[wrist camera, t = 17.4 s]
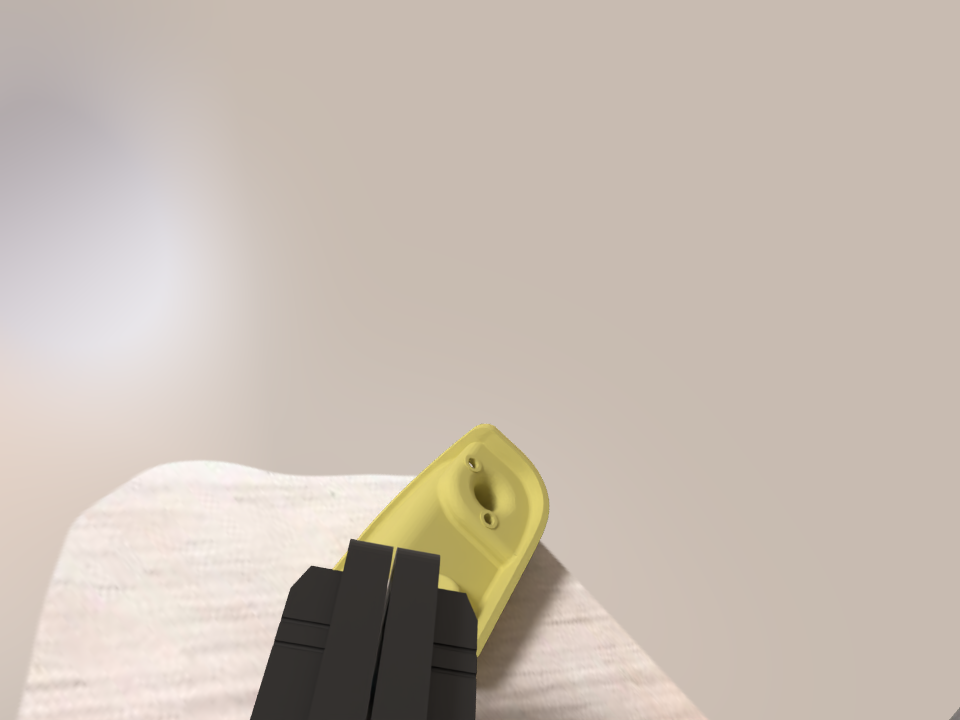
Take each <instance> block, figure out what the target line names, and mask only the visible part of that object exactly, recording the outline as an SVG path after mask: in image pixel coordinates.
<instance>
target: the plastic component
mask: <svg viewBox="0 0 960 720" xmlns="http://www.w3.org/2000/svg"><path fill="white" fill-rule="evenodd" d="M469 462H470V463H471V464H472V466H473V467H471V466H470V465H469ZM548 514H549V498H548V493H547V490H546V487H545V484H544V482H543V479H542V477H541V476H540V474H539V472H538V470H537V469H536V468H535V466H534V465H533V463H532V462H531V461H530V460H529V459H528V458H527V457H526V455H524V453H523V452H522V451H521V450H520V449H518V448H517V447H516V446H515V445H514V444H513V443H512V442H511V441H510V440H509V439H508V438H506V437H505V436H504V435H503V434H502V433H501V432H500V431H499V430H498V429H497V428H496V427H495V426H493V425H490V424H480V425H478V426H476V427H474V428H473V429H472V430H470V431H469V432H468V433H467V434H465V435H464V436H463V437H462V438H460V439H459V440H458V441H457V442H455V443H454V444H453V445H452V446H451V447H449V448H448V449H447V450H446V451H445V452H444V453H442V454H441V455H440V456H439V457H438V458H437V459H436V460H434V461H433V462H432V463H431V464H430V465H429V466H428V467H427V468H425V469H424V470H423V471H422V472H421V473H420V474H419V475H418V476H417V477H416V478H415V479H414V480H412V481H411V482H410V483H409V484H408V485H407V486H406V487H405V488H404V489H403V490H402V491H401V492H400V493H399V494H398V495H397V496H396V497H395V498H394V499H393V500H392V501H391V502H390V503H389V504H388V505H387V506H386V507H385V508H384V509H383V511H382V512H381V513H380V514H379V515H378V516H377V517H376V518H375V519H374V520H373V521H372V523H371V524H370V525H369V526H368V527H367V528H366V529H365V531H364V532H363V533H362V534H361V535H360V537H359V538H358V539H357V540H360V541H365V542H371V543H376V544H382V545H387V546H393V547H394V549H393V556H392V562H391V568H390V574H389V579H390V575H391V570H392V566H393V562H394V558H395V553H396V550H397V547H399V548H405V549H410V550H416V551H421V552H427V553H432V554H438V555H440V571H439V582H438V588H440V589H446V590H452V591H457V592H463V593H466V594H467V597H468V599H469V601H470V604H471V606H472V608H473V610H474V613H475V615H476V617H477V620H478V634H477V652H476V655H477V657H478V656H479V655H480V653H481V651H482V649H483V647H484V645H485V643H486V641H487V640H488V638H489V636H490V634H491V632H492V630H493V628H494V626H495V624H496V623H497V621H498V619H499V617H500V615H501V613H502V611H503V609H504V608H505V606H506V604H507V602H508V600H509V598H510V596H511V594H512V592H513V591H514V589H515V587H516V585H517V583H518V581H519V579H520V577H521V575H522V574H523V572H524V570H525V568H526V566H527V564H528V562H529V560H530V558H531V557H532V555H533V553H534V551H535V549H536V547H537V545H538V543H539V541H540V539H541V537H542V534H543V531H544V529H545V527H546V523H547V520H548ZM347 552H348V551H347ZM347 552H346V554H345V555H344V556H343V557H342V558H341V560H340V561H339V562H338V563H337V564H336V566H335V567H334V568H333V570H338V571H343V569H344V565H345V560H346V556H347Z"/></svg>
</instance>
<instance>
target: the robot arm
mask: <svg viewBox="0 0 960 720" xmlns="http://www.w3.org/2000/svg"><path fill="white" fill-rule="evenodd" d="M393 549H394V547H393V546H387V545H382V544H376V543H371V542H365V541H360V540H354V539H351V540H350V543H349V548H348V552H347V556H346V560H345V565H344V569H343V571H338V570H333V569H327V568H321V567H316V566H311V567H310V568H309V569H308V570H307V571H306V572H305V573H304V574H303V575H302V576H301V577H300V578H299V579H298V581H297V582H296V583H295V584H294V585H293V586H292V587H291V588H290V592H289V595H288V598H287V601H286V605H285V608H284V611H283V614H282V618H281V622H280V624H279V627H278V631H277V634H276V637H275V641H274V645H273V647H272V650H271V653H270V657H269V660H268V663H267V666H266V669H265V673H264V676H263V679H262V682H261V686H260V689H259V692H258V695H257V699H256V702H255V705H254V708H253V712H252V715H251V718H250V720H475V712H476V673H477V655H476V652H477V634H478V620H477V617H476V615H475V613H474V610H473V608H472V606H471V604H470V601H469V599H468V597H467V594H466V593H463V592H457V591H452V590H446V589H440V588H438V582H439V571H440V555H438V554H432V553H427V552H421V551H416V550H410V549H405V548H399V547H397V550H396V553H395V558H394V562H393V566H392V570H391V575H390V579H389V574H390V568H391V562H392V556H393ZM388 580H389V583H388ZM387 586H388V587H387ZM950 720H960V708H959V709H958V710H957V712H956V713H955V714H954V715H953V716H952V717H951V719H950Z"/></svg>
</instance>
